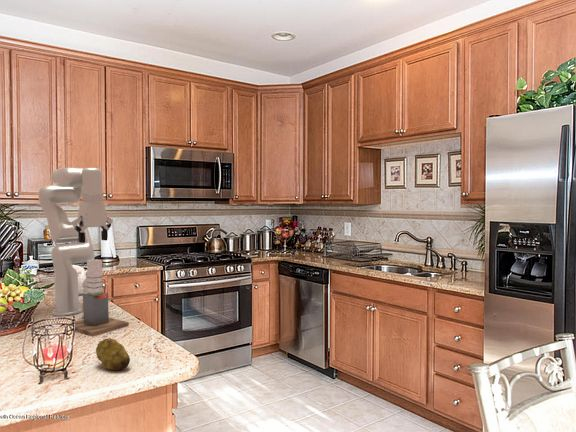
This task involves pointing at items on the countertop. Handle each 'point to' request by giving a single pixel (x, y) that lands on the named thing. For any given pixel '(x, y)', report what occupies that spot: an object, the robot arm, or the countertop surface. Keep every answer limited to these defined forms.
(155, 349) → the countertop surface
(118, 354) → the potato
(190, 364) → the countertop surface
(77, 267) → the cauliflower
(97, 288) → the steel post
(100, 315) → the stand
